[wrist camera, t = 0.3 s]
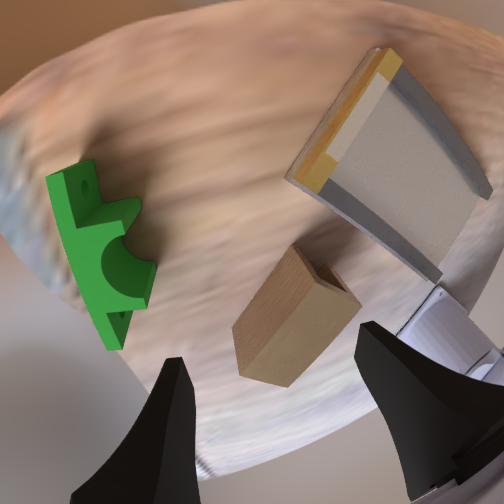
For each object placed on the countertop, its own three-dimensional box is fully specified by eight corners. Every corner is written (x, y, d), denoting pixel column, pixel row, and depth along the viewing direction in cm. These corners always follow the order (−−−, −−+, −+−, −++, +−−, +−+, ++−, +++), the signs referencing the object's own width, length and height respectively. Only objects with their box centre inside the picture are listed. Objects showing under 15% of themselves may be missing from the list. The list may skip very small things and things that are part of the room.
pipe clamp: (166, 303, 20) (161, 347, 16) (120, 308, 20) (107, 351, 16) (132, 148, 15) (108, 159, 11) (78, 161, 15) (43, 177, 11)
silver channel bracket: (479, 181, 20) (499, 189, 17) (420, 276, 23) (437, 291, 21) (370, 49, 14) (392, 42, 12) (283, 178, 17) (297, 188, 15)
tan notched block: (290, 244, 20) (315, 282, 15) (332, 267, 21) (362, 306, 17) (231, 327, 22) (239, 375, 18) (273, 342, 23) (287, 387, 19)
